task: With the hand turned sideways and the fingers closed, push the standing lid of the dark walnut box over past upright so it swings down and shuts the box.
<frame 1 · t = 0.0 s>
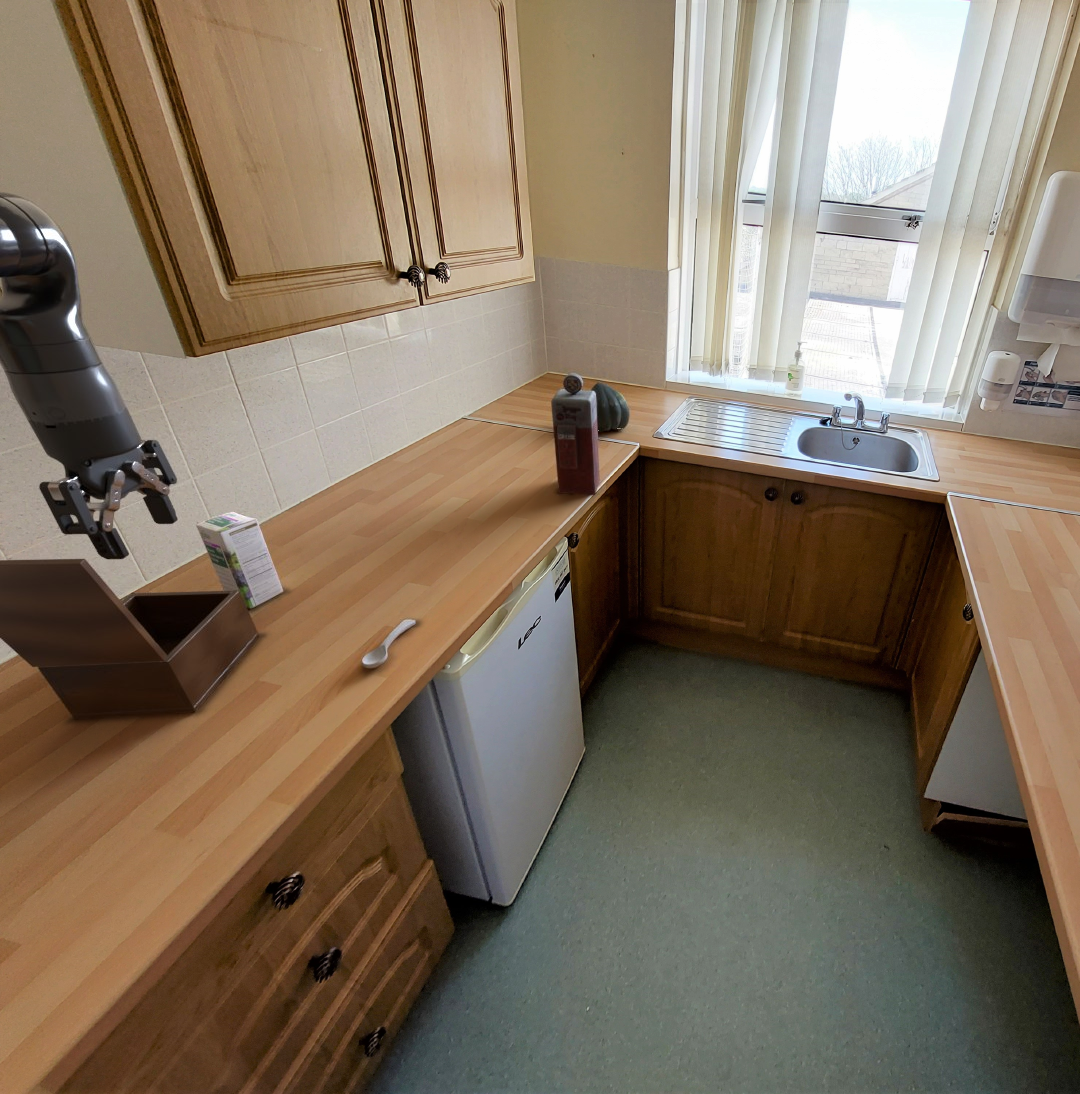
hand: (143, 539, 69), 22 cm above the worktop, tool pointing down, fingers open, 8 cm apart
squash: (605, 429, 183), on the worktop
walnut box: (175, 674, 81), on the worktop
lid: (57, 616, 64), point 17 cm above the worktop, hinge at 100.4°
spoon: (391, 647, 89), on the worktop
syrup box: (257, 597, 97), on the worktop
vintage gas pump: (579, 488, 143), on the worktop
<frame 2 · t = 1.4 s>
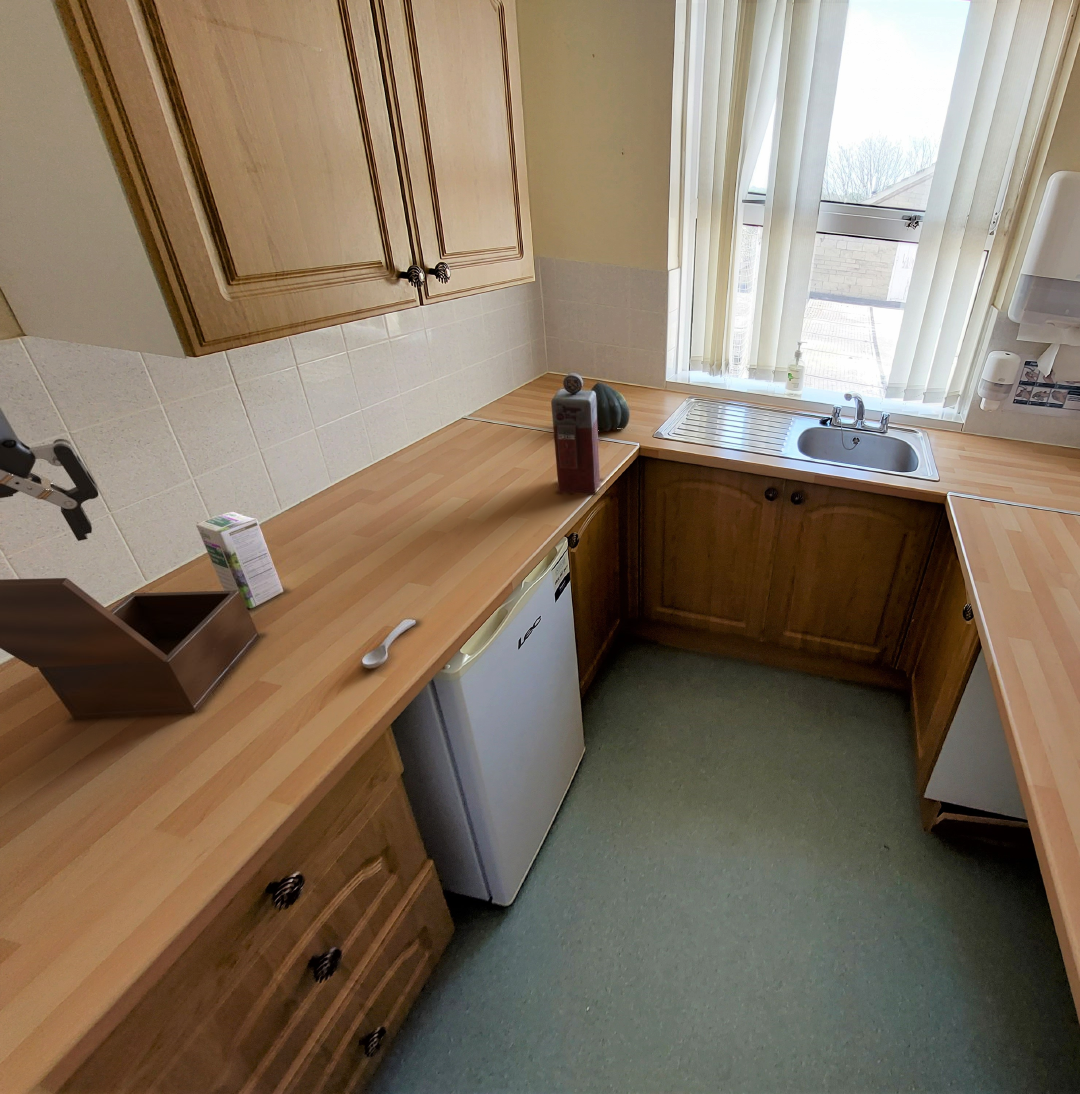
hand: (23, 550, 59), 27 cm above the worktop, tool pointing down, fingers open, 8 cm apart
lid: (48, 626, 63), point 17 cm above the worktop, hinge at 110.1°
everything else where it was.
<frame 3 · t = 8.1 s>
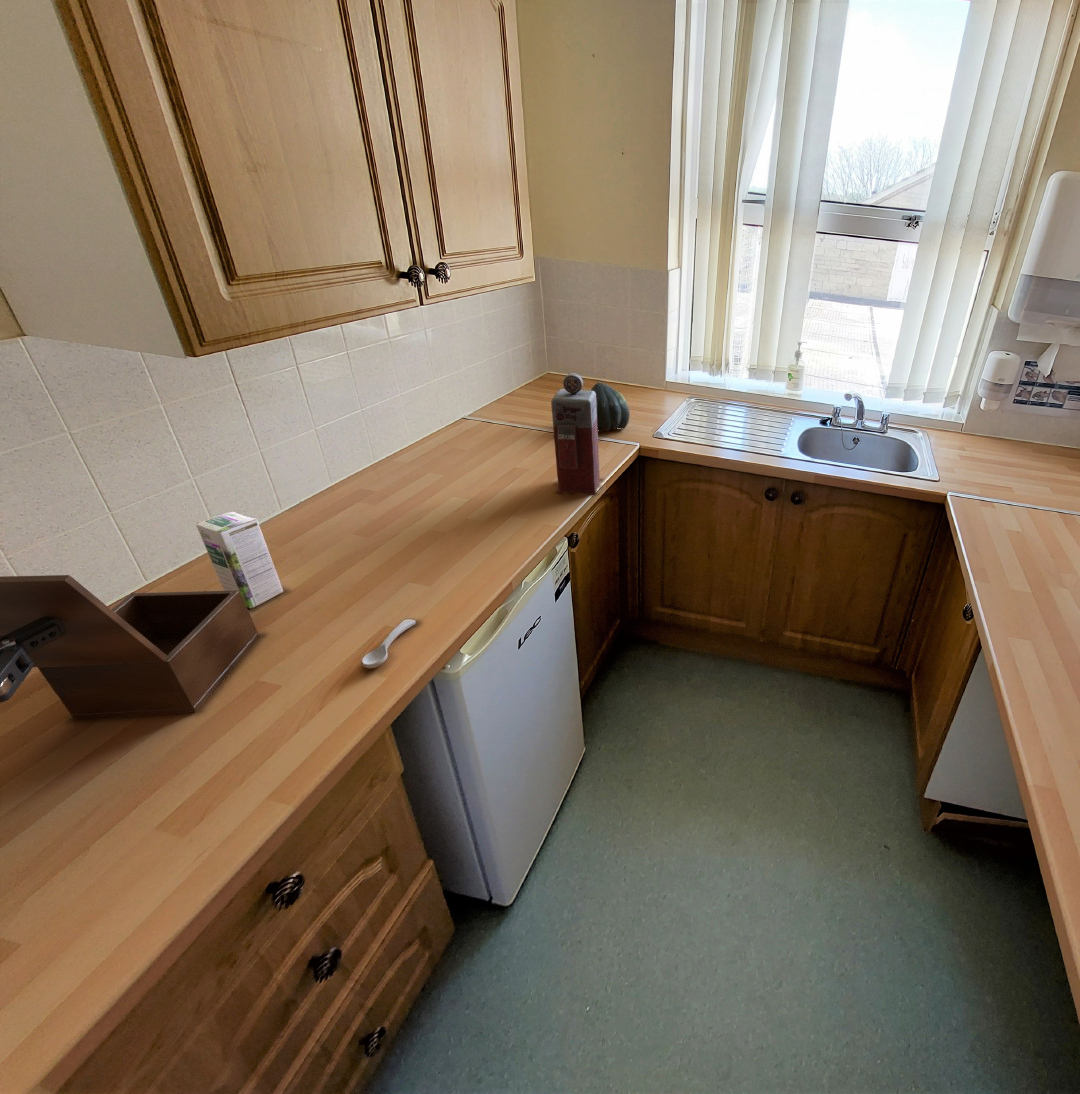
hand: (57, 623, 62), 18 cm above the worktop, tool horizontal, fingers closed
lid: (49, 624, 63), point 17 cm above the worktop, hinge at 108.7°, touching gripper
everything else where it was.
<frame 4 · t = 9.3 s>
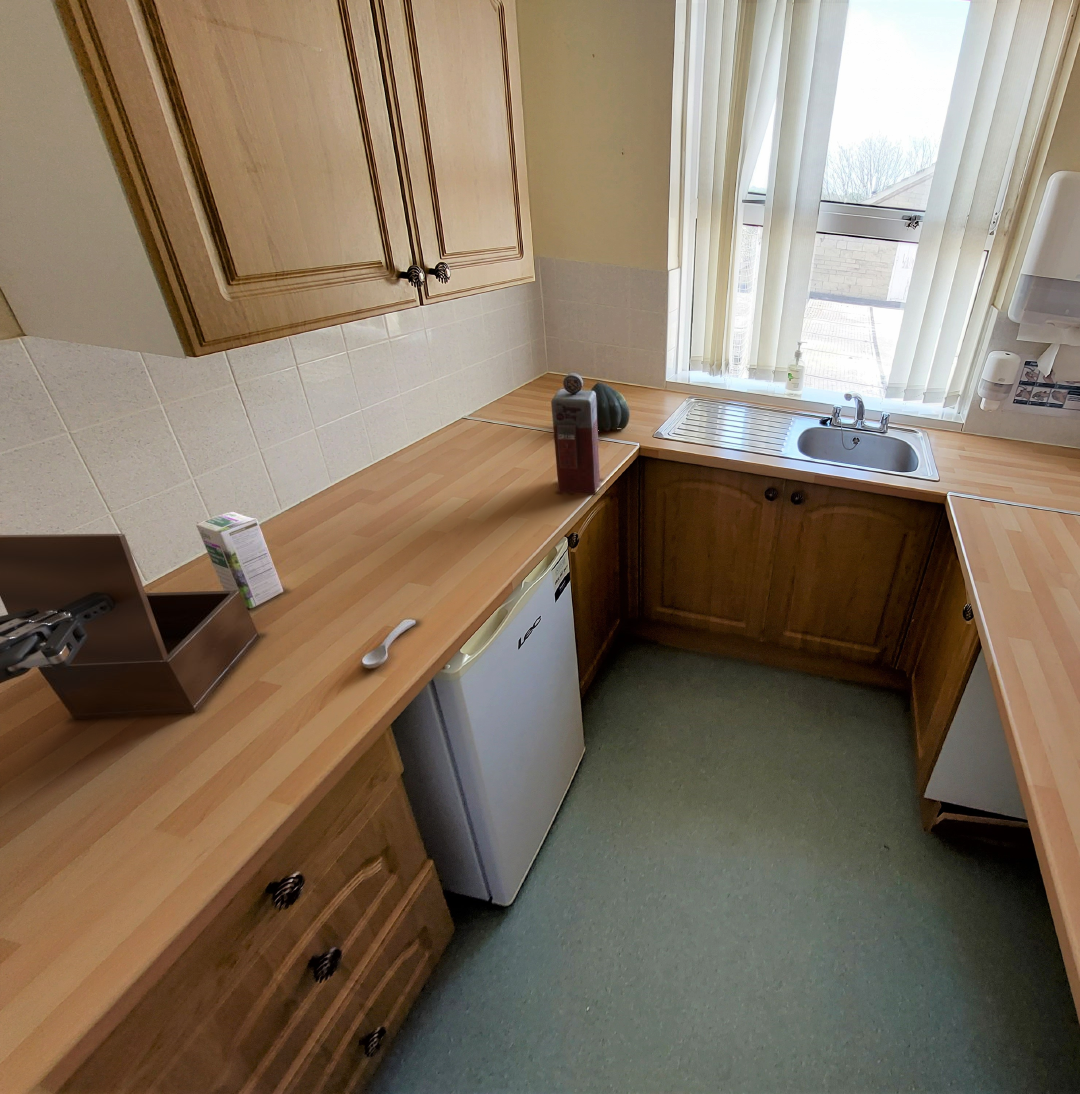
hand: (106, 599, 66), 18 cm above the worktop, tool horizontal, fingers closed
lid: (77, 601, 66), point 17 cm above the worktop, hinge at 80.7°
everything else where it was.
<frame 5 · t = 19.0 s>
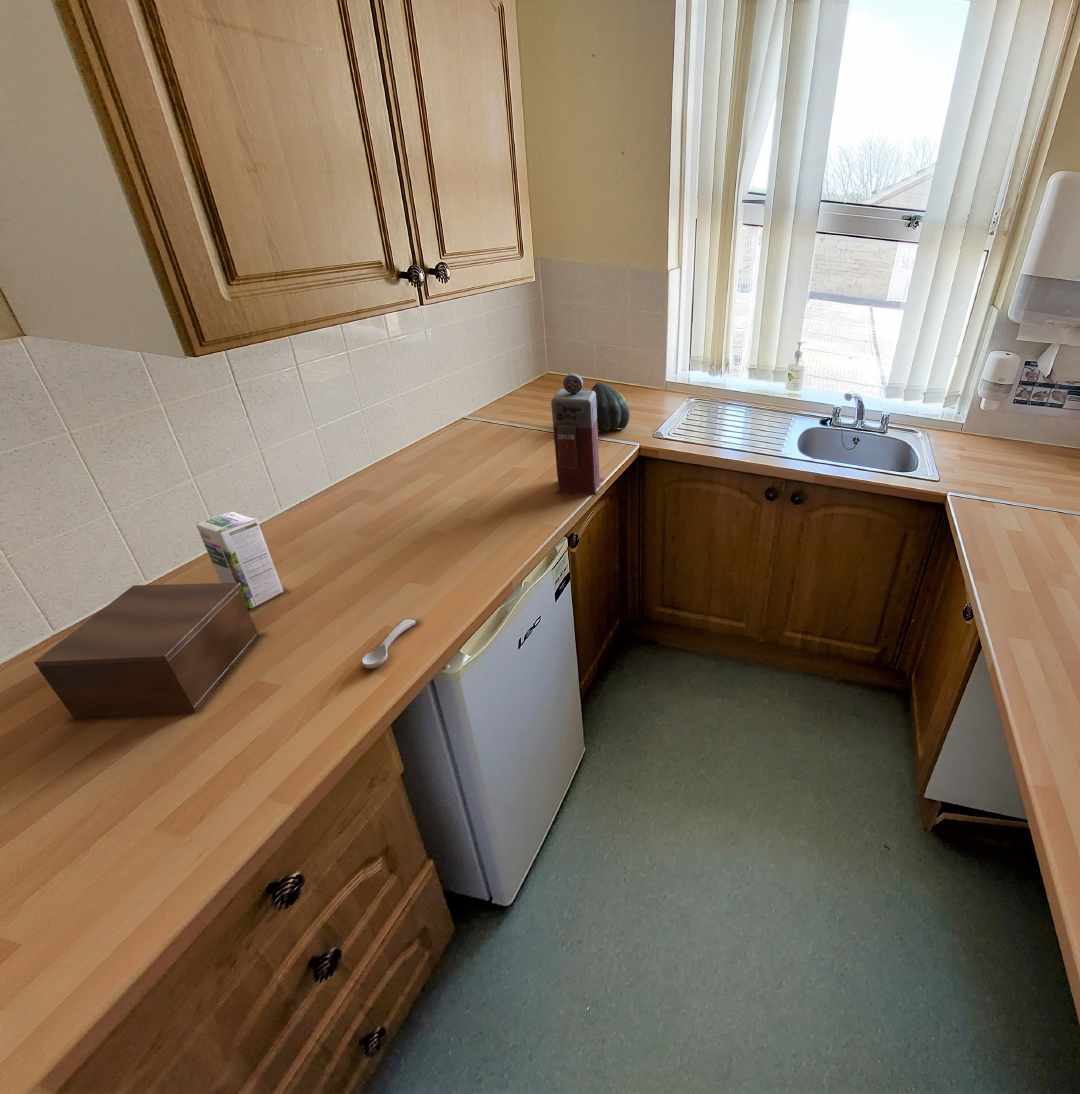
lid: (149, 620, 76), point 9 cm above the worktop, hinge at -0.1°
everything else where it was.
at the end: lid at +0° (first picture: +100°) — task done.
